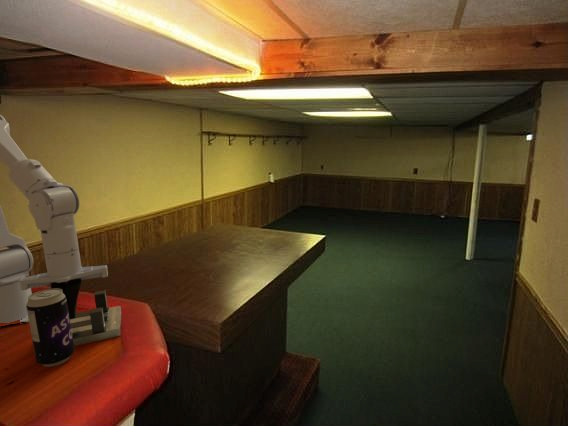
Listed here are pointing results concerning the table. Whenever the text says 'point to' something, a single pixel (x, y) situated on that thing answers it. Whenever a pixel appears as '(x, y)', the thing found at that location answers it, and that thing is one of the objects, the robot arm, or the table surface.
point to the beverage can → (50, 327)
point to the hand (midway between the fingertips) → (72, 317)
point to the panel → (98, 336)
